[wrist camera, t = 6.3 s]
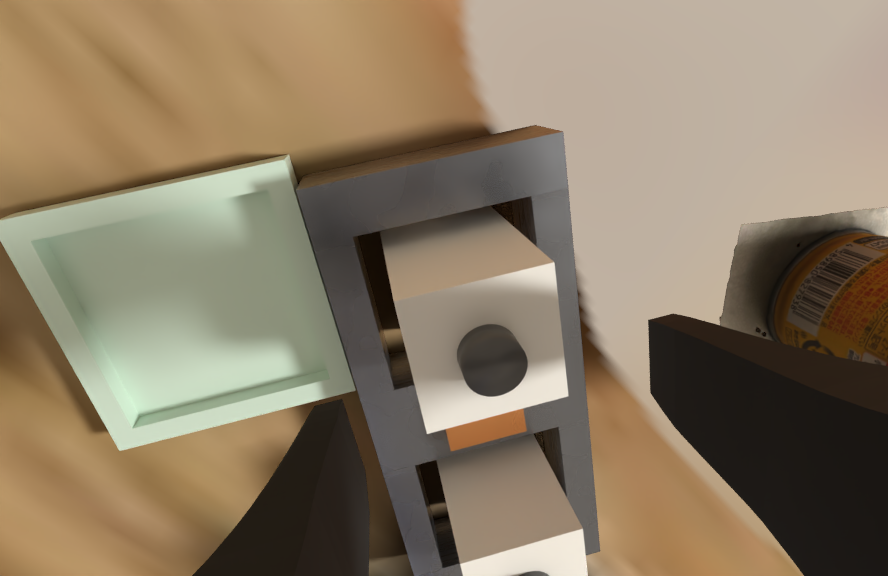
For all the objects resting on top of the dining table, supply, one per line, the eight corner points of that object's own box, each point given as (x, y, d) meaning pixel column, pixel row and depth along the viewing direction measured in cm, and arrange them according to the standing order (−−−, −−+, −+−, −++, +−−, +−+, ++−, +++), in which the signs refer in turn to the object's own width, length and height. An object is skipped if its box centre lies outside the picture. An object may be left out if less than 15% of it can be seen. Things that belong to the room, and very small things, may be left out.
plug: (503, 303, 20) (580, 413, 13) (403, 328, 19) (431, 453, 13) (488, 204, 18) (566, 273, 12) (379, 229, 18) (396, 315, 11)
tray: (355, 373, 20) (355, 390, 19) (133, 429, 19) (119, 451, 18) (289, 154, 16) (284, 159, 15) (15, 212, 16) (-10, 222, 15)
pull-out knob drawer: (531, 479, 23) (601, 633, 17) (447, 502, 23) (485, 669, 16) (520, 409, 22) (594, 550, 15) (430, 433, 21) (465, 587, 15)
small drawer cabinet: (576, 507, 24) (607, 565, 22) (415, 553, 24) (424, 619, 21) (535, 125, 17) (572, 133, 14) (303, 175, 17) (293, 195, 14)
